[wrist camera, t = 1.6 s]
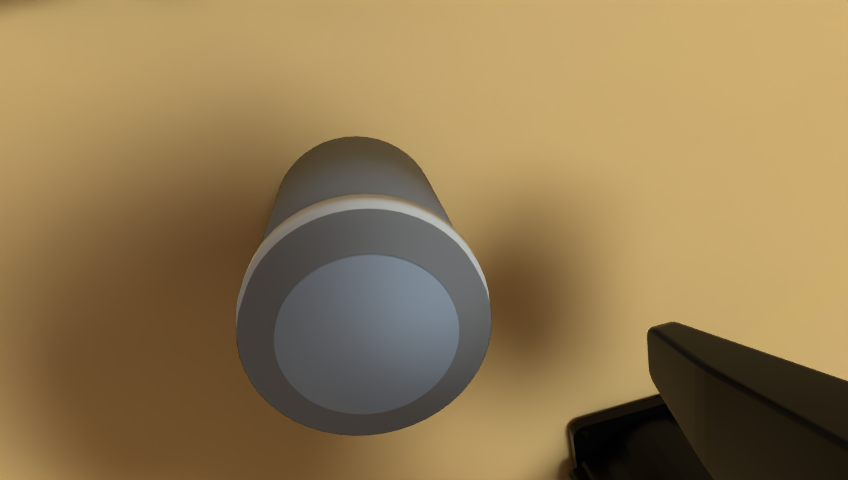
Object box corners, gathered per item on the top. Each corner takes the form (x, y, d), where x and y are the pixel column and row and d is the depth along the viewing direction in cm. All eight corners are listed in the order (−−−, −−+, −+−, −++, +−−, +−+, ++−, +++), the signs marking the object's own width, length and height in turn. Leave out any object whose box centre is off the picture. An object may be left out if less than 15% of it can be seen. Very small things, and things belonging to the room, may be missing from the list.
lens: (418, 114, 16) (473, 183, 9) (451, 264, 18) (515, 405, 12) (247, 157, 16) (183, 259, 9) (302, 304, 18) (281, 471, 11)
